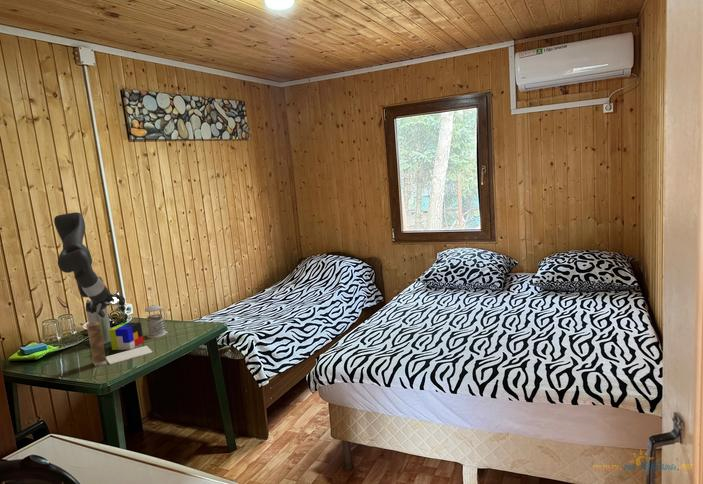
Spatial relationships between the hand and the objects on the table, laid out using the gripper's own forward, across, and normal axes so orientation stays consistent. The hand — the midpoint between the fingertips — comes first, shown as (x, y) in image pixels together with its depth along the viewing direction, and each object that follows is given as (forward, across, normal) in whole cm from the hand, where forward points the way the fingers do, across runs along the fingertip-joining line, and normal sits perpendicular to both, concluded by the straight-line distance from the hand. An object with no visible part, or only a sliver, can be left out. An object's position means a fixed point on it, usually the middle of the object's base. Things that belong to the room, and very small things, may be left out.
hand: (113, 313), depth 208 cm
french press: (+39, -3, -17) cm, 43 cm away
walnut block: (+18, +14, +10) cm, 24 cm away
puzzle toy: (+30, +8, -7) cm, 32 cm away
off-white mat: (+23, +3, +6) cm, 24 cm away
